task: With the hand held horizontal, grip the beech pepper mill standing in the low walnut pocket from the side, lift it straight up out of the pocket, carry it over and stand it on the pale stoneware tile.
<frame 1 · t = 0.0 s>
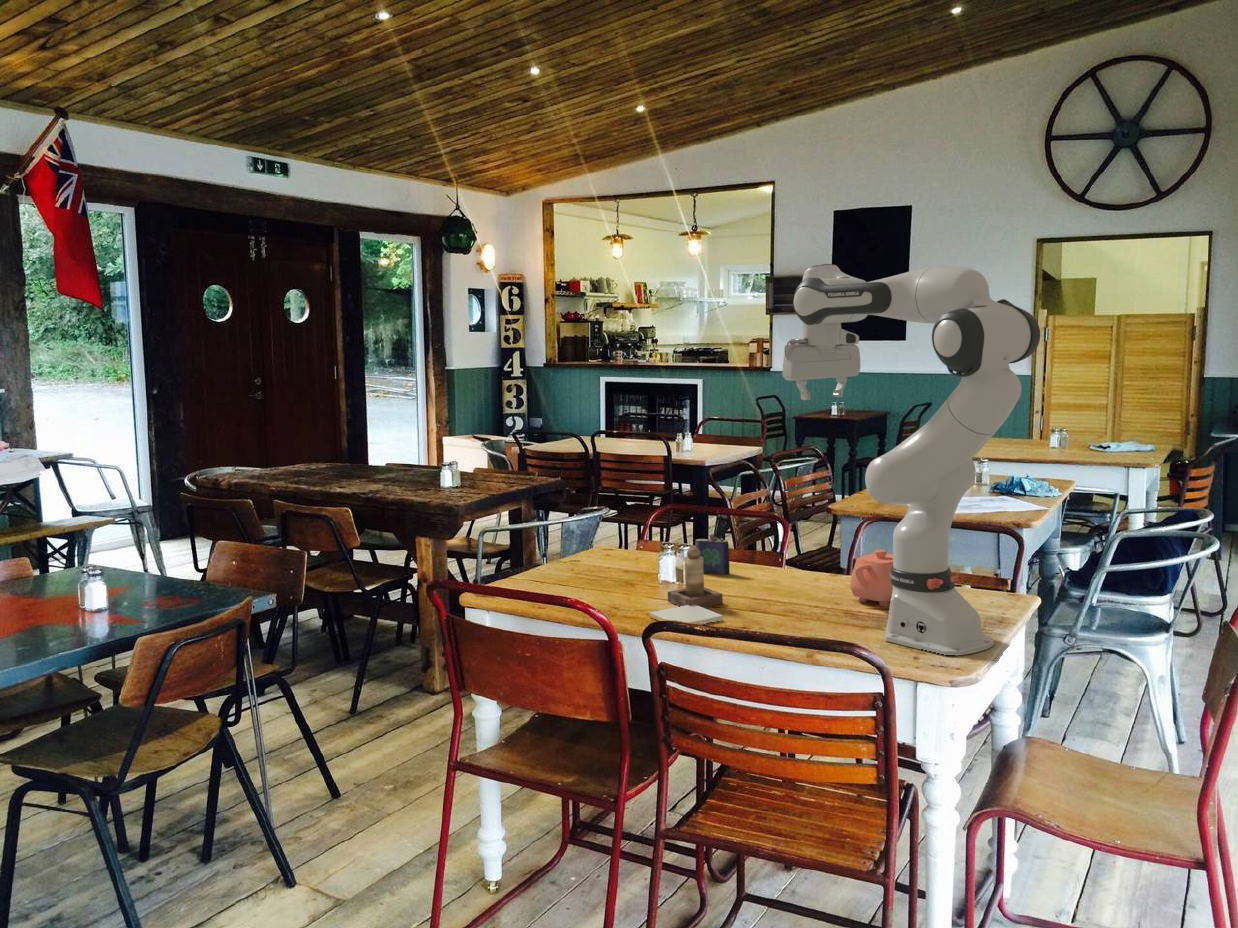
hand: (822, 398, 236), 48 cm above the table, tool pointing down, fingers open, 8 cm apart
flask: (713, 573, 274), on the table
board: (685, 619, 233), on the table
mill: (695, 603, 246), resting in holder
holder: (695, 602, 246), on the table
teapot: (882, 600, 242), on the table
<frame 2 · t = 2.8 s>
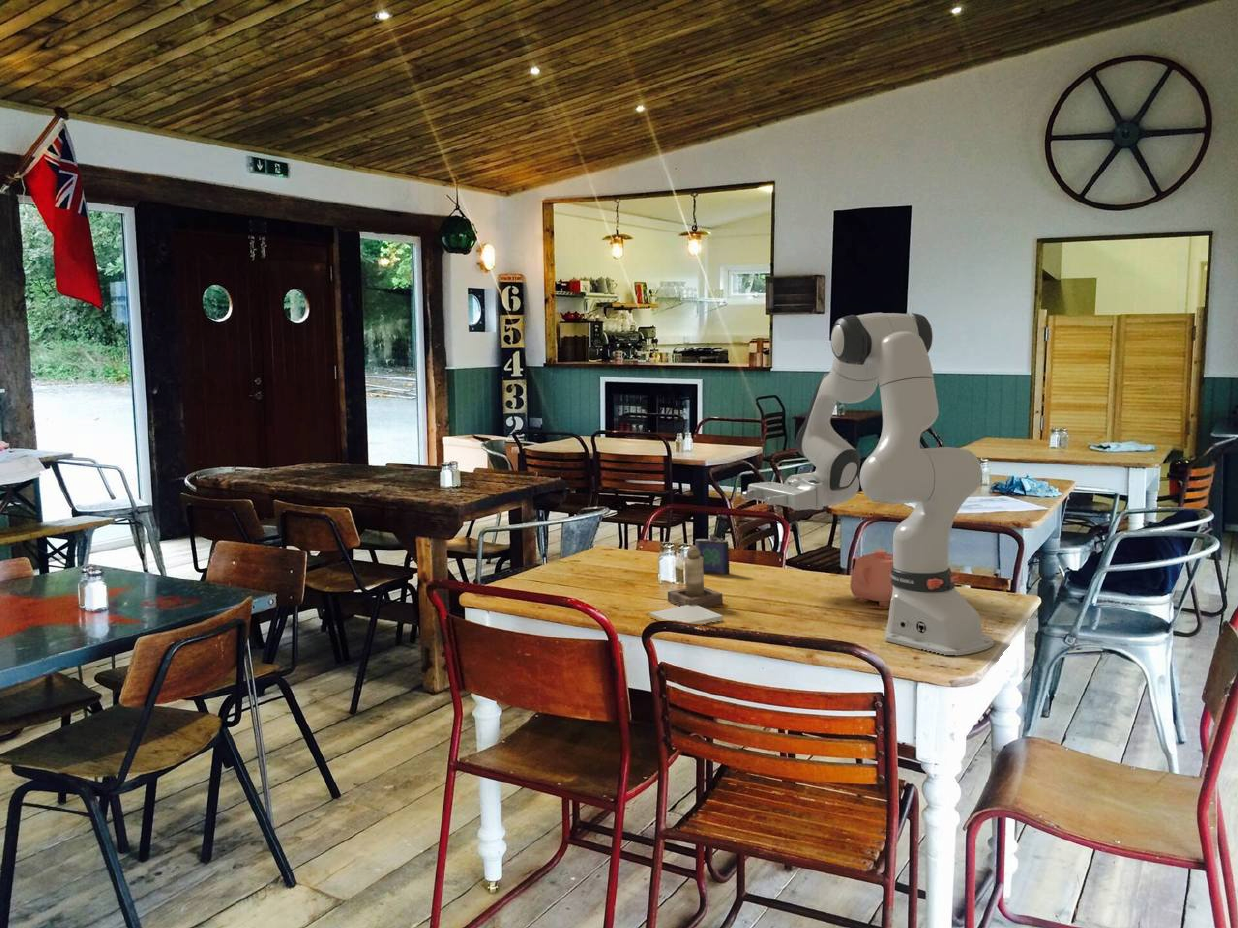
hand: (754, 498, 248), 24 cm above the table, tool horizontal, fingers open, 8 cm apart
nothing on the table moved.
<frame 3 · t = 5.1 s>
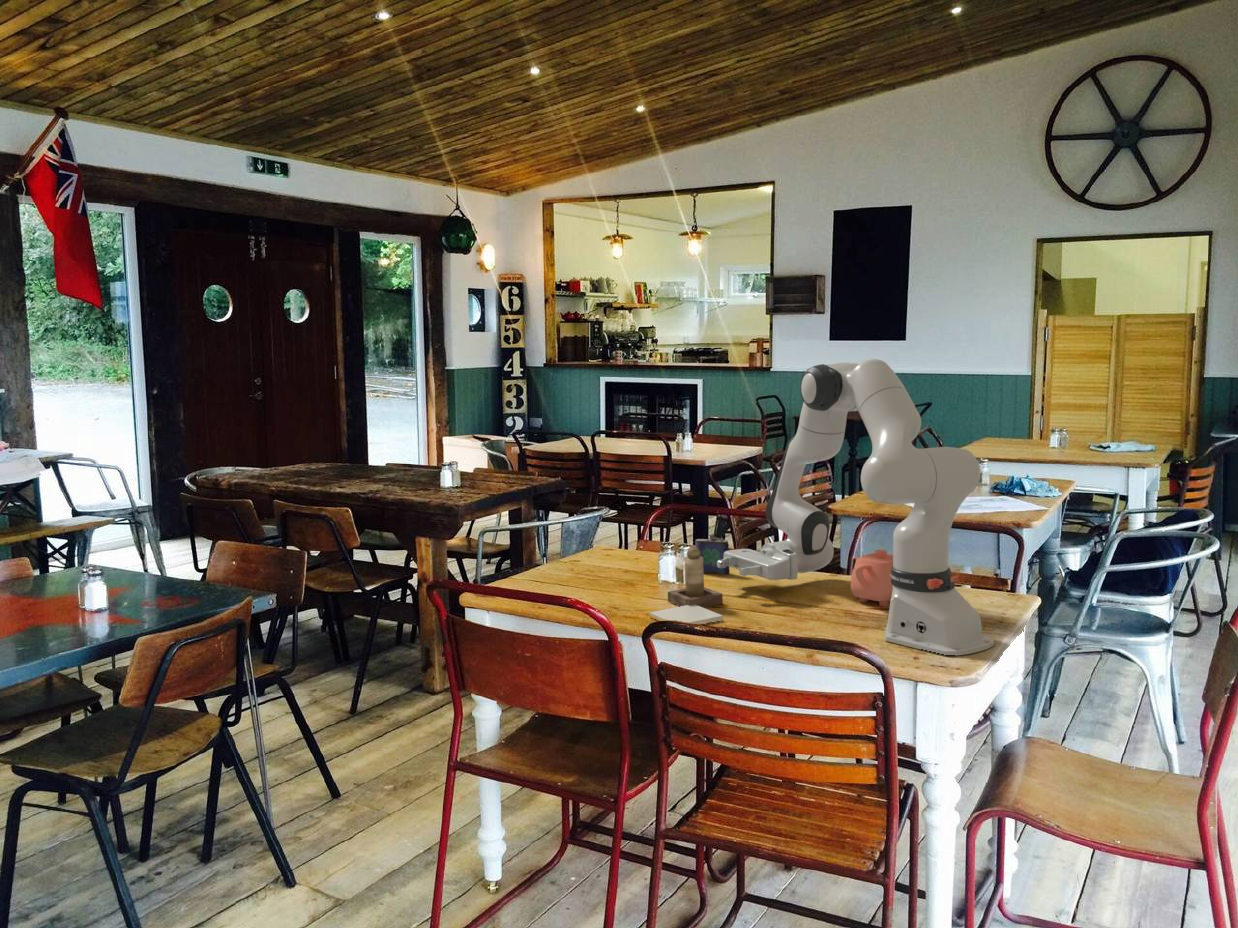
hand: (729, 568, 250), 7 cm above the table, tool horizontal, fingers open, 8 cm apart
nothing on the table moved.
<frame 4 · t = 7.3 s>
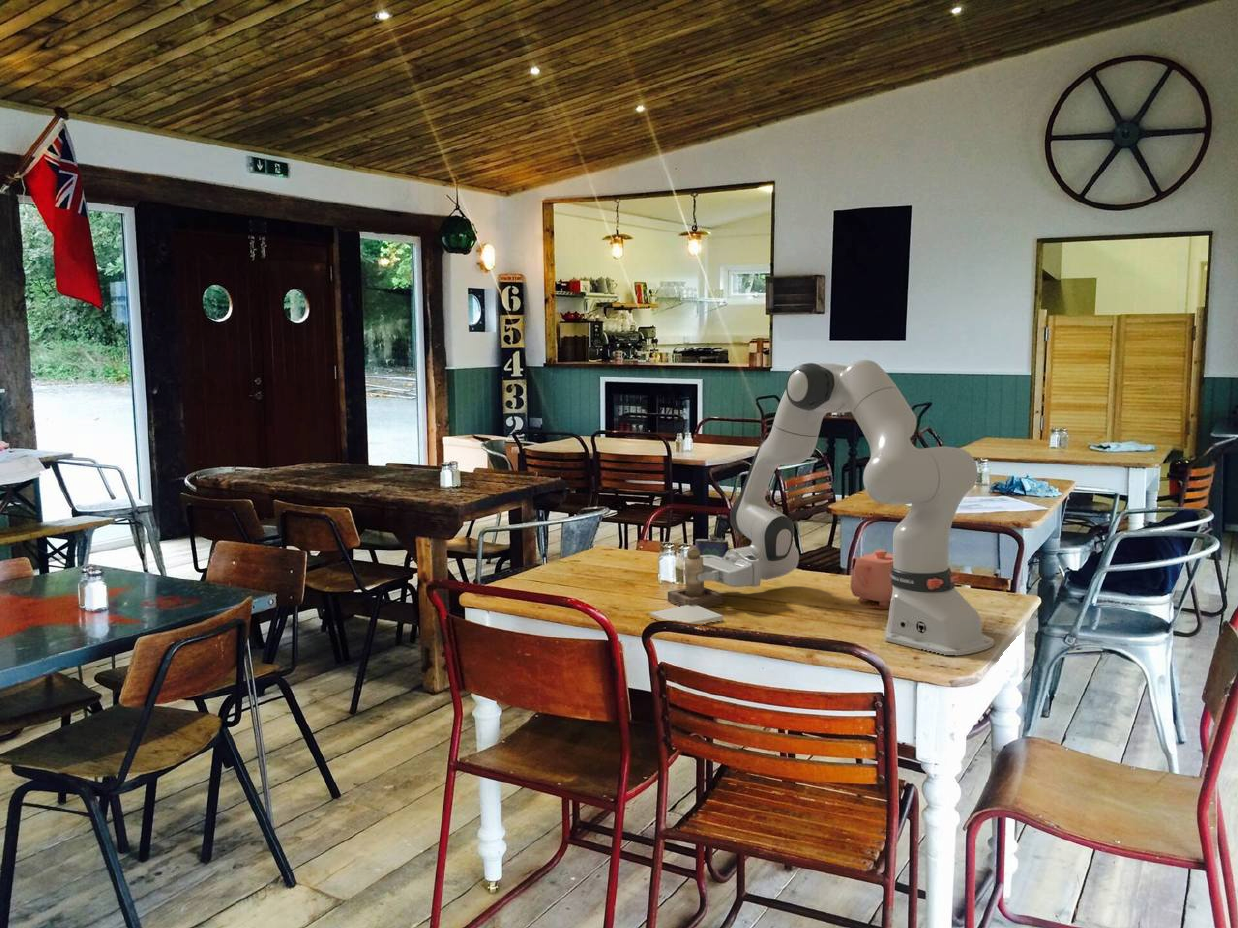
hand: (691, 574, 244), 7 cm above the table, tool horizontal, fingers closed on mill, 4 cm apart
mill: (695, 603, 246), resting in holder, touching gripper
everything else where it was.
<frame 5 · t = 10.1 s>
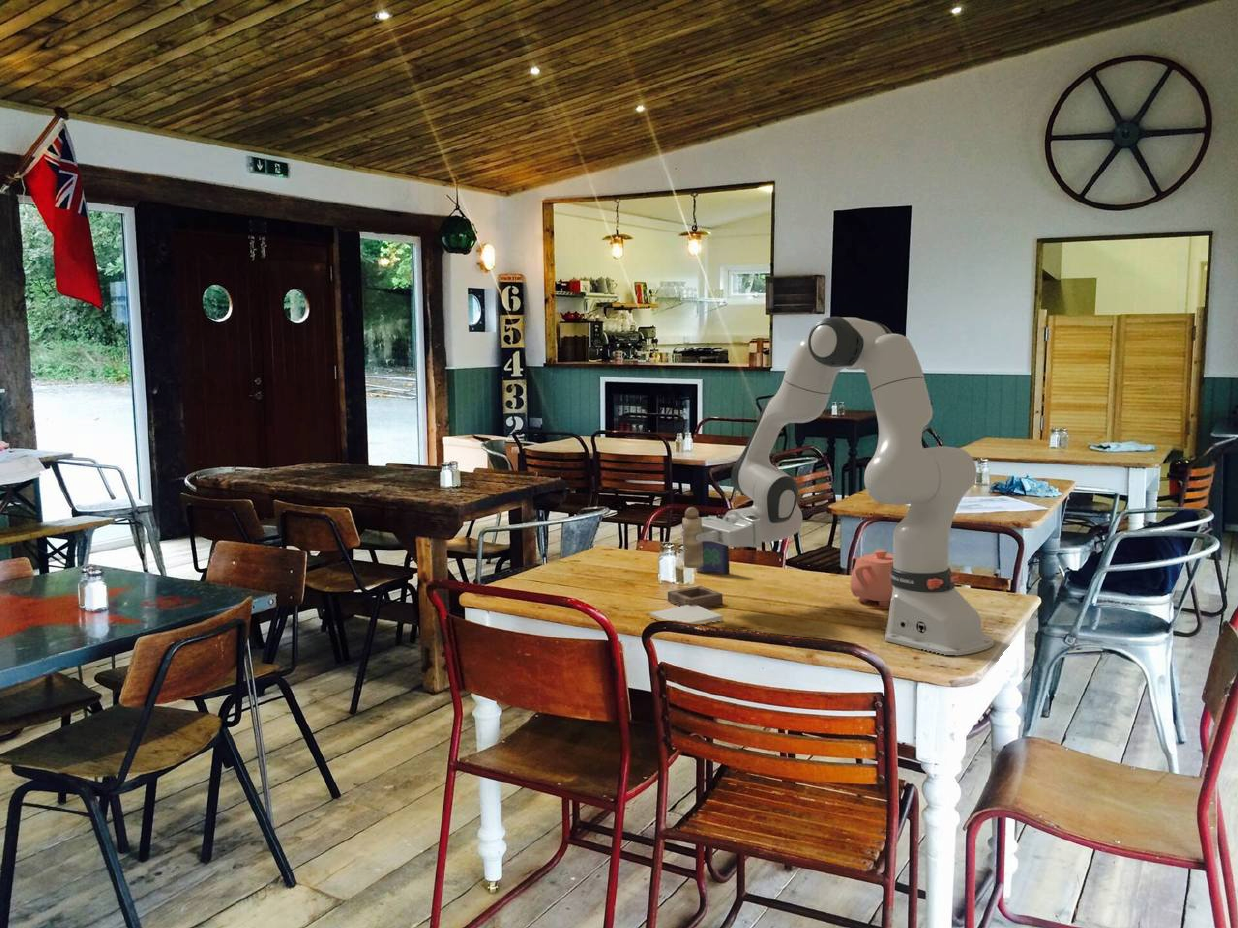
hand: (689, 535, 234), 18 cm above the table, tool horizontal, fingers closed on mill, 4 cm apart
mill: (693, 565, 235), point 11 cm above the table, touching gripper
everything else where it was.
when the fingers open (9 cm above the table, at t = 12.6 s): mill stays where it is, resting on board.
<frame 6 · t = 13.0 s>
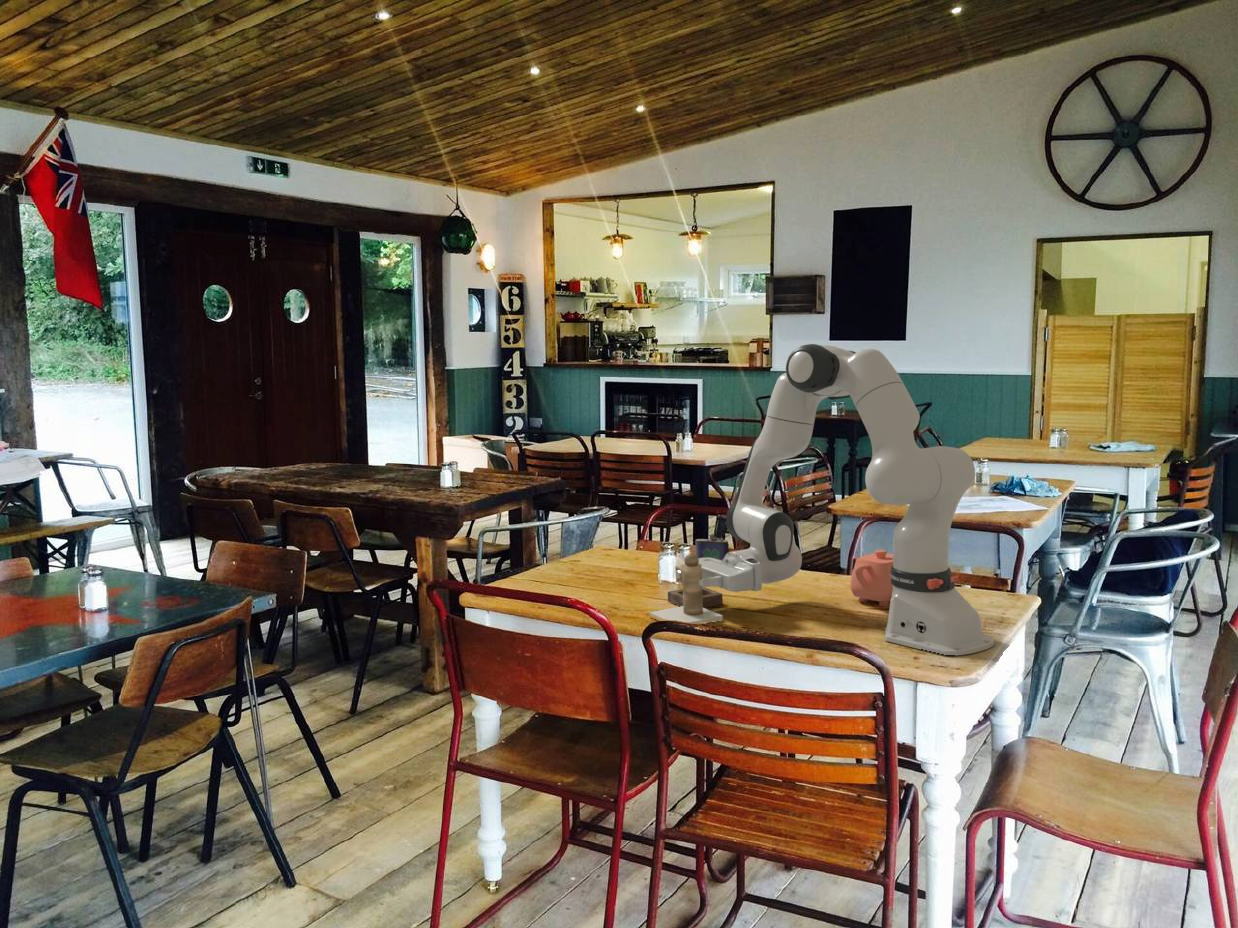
hand: (688, 578, 232), 9 cm above the table, tool horizontal, fingers open, 8 cm apart
mill: (693, 612, 234), point 1 cm above the table, touching board
everything else where it was.
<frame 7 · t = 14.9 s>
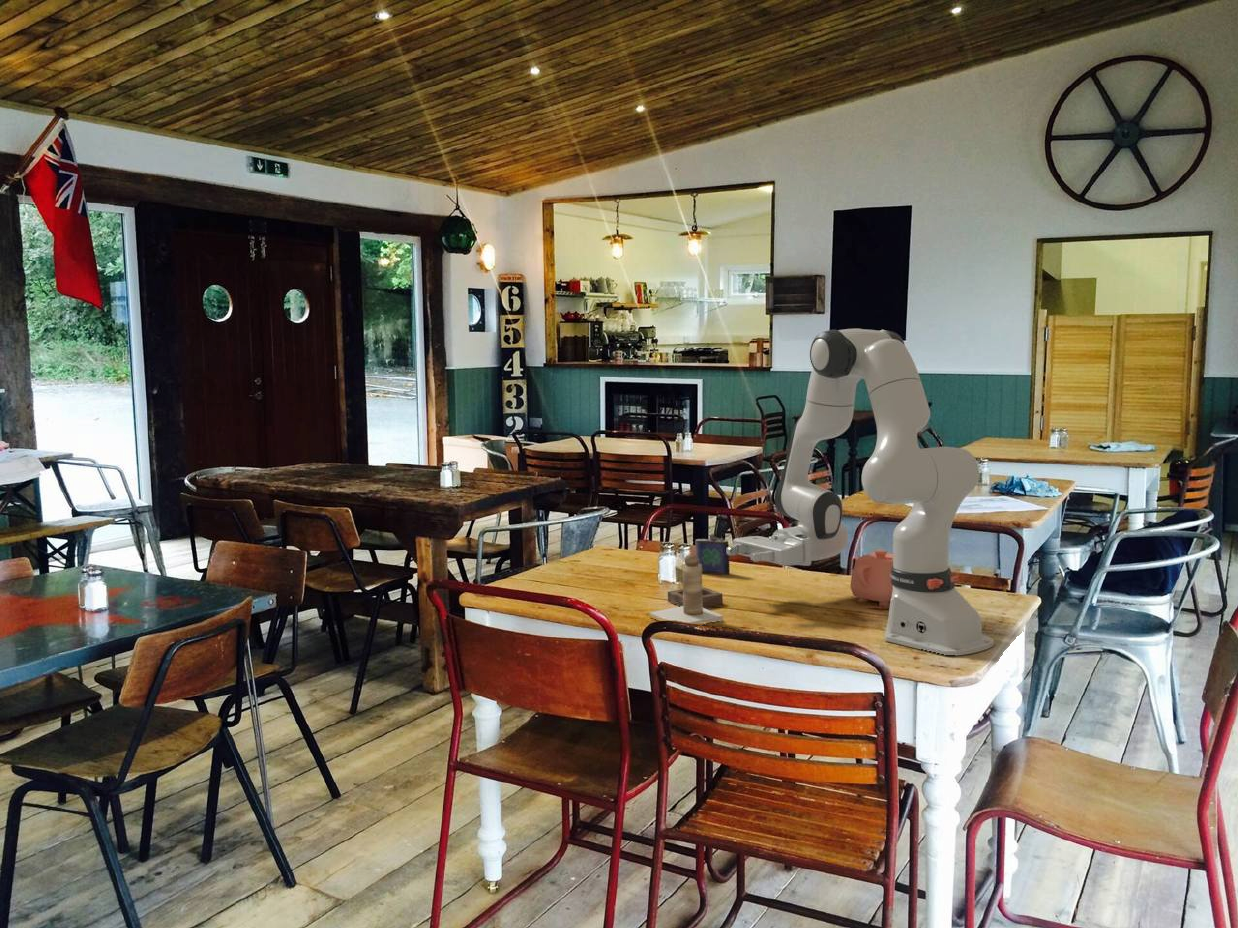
hand: (739, 554, 238), 13 cm above the table, tool horizontal, fingers open, 8 cm apart
nothing on the table moved.
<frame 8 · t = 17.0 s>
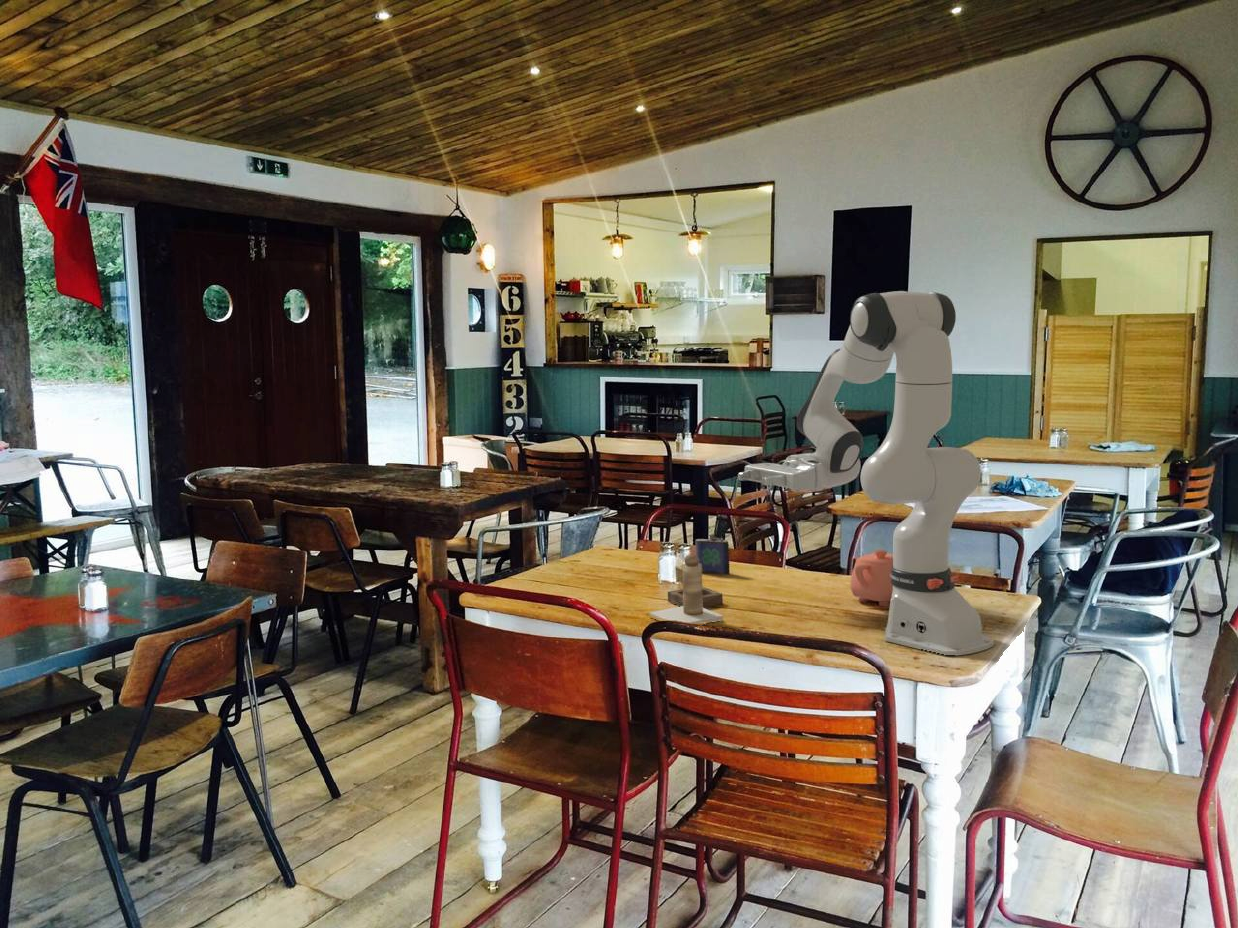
hand: (751, 479, 238), 30 cm above the table, tool horizontal, fingers open, 8 cm apart
nothing on the table moved.
at the end: mill 2.0 cm from the board (horizontally); mill tilted 0°; mill touching board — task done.
